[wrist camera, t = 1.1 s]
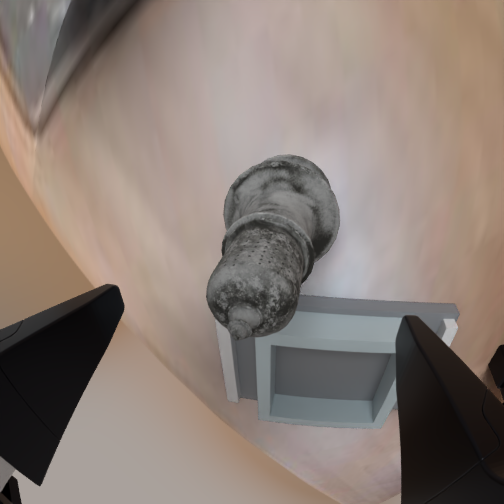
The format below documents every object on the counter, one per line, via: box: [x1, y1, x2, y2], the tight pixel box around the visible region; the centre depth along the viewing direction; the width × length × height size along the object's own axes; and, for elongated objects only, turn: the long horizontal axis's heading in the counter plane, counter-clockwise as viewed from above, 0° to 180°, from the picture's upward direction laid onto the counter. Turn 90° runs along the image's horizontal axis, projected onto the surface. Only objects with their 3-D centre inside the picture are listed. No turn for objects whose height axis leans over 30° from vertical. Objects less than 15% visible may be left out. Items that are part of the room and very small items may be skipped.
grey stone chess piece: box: [206, 155, 340, 341], centre depth 13 cm, size 6×6×12 cm
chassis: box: [215, 295, 460, 429], centre depth 22 cm, size 18×12×4 cm, turn 92°
